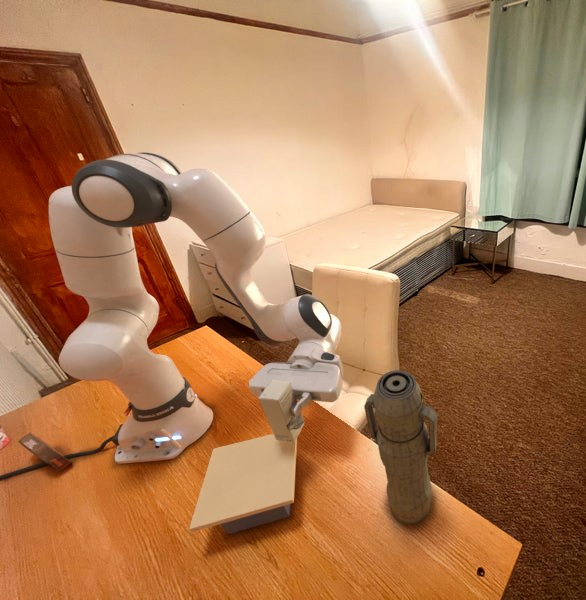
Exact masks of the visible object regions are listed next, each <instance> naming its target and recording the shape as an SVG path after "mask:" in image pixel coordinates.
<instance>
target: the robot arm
mask: <svg viewBox="0 0 586 600" xmlns="http://www.w3.org/2000/svg"><path fill="white" fill-rule="evenodd" d="M170 217H171V218H175V219H178V220H180V221H182V222H183V223H185V224H186V225H187V226H188V227H189V228H190V229H191V230H192V231H193V232H194V234H195V235H196V236H197V237H198V238H199V239H200V240H201V242H202V243H203V244H204V245H205V246H206V247H207V249H208V250H209V252H210V253H211V255H212V257H213V259H214V262H215V263H214V269H215V272H216V274H217V276H218V278H219V280H220V282H221V283H222V284H223V286H224V287H225V289H226V290H227V292H228V293H229V294H230V296H231V297H232V298H233V300H234V301H235V302H236V304H237V305H238V306H239V308H240V310H242V312H243V313H244V315H245V316H246V317H247V319H248V321H249V322H250V324H251V327H252V328H253V330H254V333H255V335H256V336H257V337H258V339H259V340H261V342H263V343H264V344H266V345H268V346H272V347H274V346H279V345H282V344H284V343H286V342H289V341H291V340H294V339H298V344H297V346H296V347H295V348H294V350H293V352H292V353H291V355H290V356H289V358H288V359H287V362H286V361H281V362H280V361H271V362H270V363H266V364H265V365H263V366H262V367H261V368H260V369H259V370H258V371H257V372H256V373H255V374H254V375H253V376H252V377H251V379H250V380H249V382H248V388H249V390H250V392H251V395H252V396H253V397H259V396H260V395H261V393H262V392H263V391H264V389H265V388H266V387H267V385H268V384H269V383H270V382H271V380H282V381H290V382H291V385H292V388H293V391H294V394H295V397H296V399H297V402H298V403H297V404H294V403H293V404H292V406H291V408H290V410H289V412H290V413H291V414H290V415H292V416H298V415H299V413H300V411H301V412H302V411H303V409H305V408H307V407H308V406H310V405H311V402H323V403H334V402H336V401H338V400H339V398H340V396H341V393H342V389H343V386H344V385H343V383H344V382H343V379H344V377H345V375H344V374H345V373H344V366H343V363H342V359H341V356H340V355H338V354H336V353H335V352H336V350H337V348H338V346H339V344H340V341H341V337H342V333H343V332H342V331H343V327H342V323H341V321H340V319H339V318H338V317H337V316H335V315H334V314H332V313H330V311H329V310H328V308H327V307H326V305H325V304H324V303H323V302H322V301H321V300H320V299H319V298H317V297H316V296H315V295H312V294H310V293H306V294H303V295H299V296H296V297H293V298H289V299H288V300H286V301H282V302H279V303H277V304H274V303H271V302H268V301H267V299H266V297H265V296H264V294H263V293H262V291H261V290H260V289H259V286H258V285H257V284H256V283H255V280H254V279H253V277H252V269H253V267H254V266H255V264H256V263H257V261H258V260H259V259H260V258H261V257H262V255H263V253H264V251H265V248H266V242H267V240H266V239H267V238H266V232H265V230H264V228H263V226H262V224H261V223H260V221H259V220H258V219H257V217H256V216H255V215H254V213H253V212H252V211H251V209H250V208H249V207H248V206H247V205H246V203H245V202H244V201H243V199H242V198H241V197H240V196H239V195H238V194H237V193H236V192H235V191H234V190H233V189H232V187H230V186H229V184H227V182H225V180H224V179H222V178H221V177H220V176H219V175H218V174H217V173H216V172H214V171H212V170H210V169H207V168H192V169H188V170H185V171H183V172H182V171H181V169H180V168H179V167H178V166H177V165H176V164H175V163H174V162H173V161H171V160H170V159H168V158H166V157H165V156H161V155H159V154H156V153H152V152H143V151H142V152H133V153H132V152H130V153H129V152H128V153H119V154H116V155H113V156H110V157H107V158H105V159H97V160H94V161H91V162H89V163H87V164H85V165H84V166H82V167H81V168H79V170H77V172H76V173H75V175H74V176H73V178H72V181H71V185H68V186H64V187H61V188H58V189H56V190H54V191H53V192H52V193H51V194H50V196H49V199H48V223H49V229H50V235H51V241H52V243H53V247H54V252H55V254H56V257H57V261H58V264H59V268H60V271H61V274H62V277H63V281H64V284H65V286H66V288H67V289H68V290H69V291H71V292H72V293H73V294H76V295H78V296H80V297H83V298H84V299H85V301H86V303H87V304H88V308H89V309H88V310H89V311H88V315H87V317H86V318H85V320H83V321H82V322H81V324H79V326H78V327H77V328H76V329H75V330H73V332H72V333H71V334H70V335H69V336H68V337H67V339H66V341H65V343H64V345H63V347H62V349H61V351H60V354H59V356H58V364H59V366H60V368H61V369H62V370H63V372H65V373H66V374H67V375H69V376H70V377H71V378H74V379H76V380H80V381H85V382H94V383H95V382H104V381H106V382H108V383H111V384H112V385H113V386H115V387H117V388H118V389H119V391H120V392H121V393H122V394H123V395H124V396H125V397H126V399H127V400H128V404H127V407H126V409H125V411H124V414H125V416H126V419H125V420H124V422H123V423H120V424H119V426H118V428H117V430H116V431H115V433H114V435H112V436H110V437H109V438H107V439H106V440H104V441H102V443H101V444H100V446H99V447H98V448H94V449H92V450H88V451H82V452H74V453H69V454H66V455H63V456H64V457H65V458H66V459H70V458H75V457H76V458H77V457H84V456H90V455H93V454H96V453H99V452H101V451H102V450H104V449H105V447H106V445H108V443H111V442H112V443H113V444H114V445H115V446H116V450H115V452H114V453H115V454H114V461H115V463H116V464H117V465H120V464H134V463H144V462H156V461H157V462H158V461H168V460H174V459H175V458H176V457H178V456H179V455H180V454H181V453H182V452H183V451H184V450H185V449H186V448H187V447H189V446H190V445H192V444H193V443H195V442H196V441H197V440H199V439H200V438H201V437H202V436H203V435H204V434H205V433H206V432H207V431H208V430H209V428H210V427H211V425H212V422H213V420H214V411H213V410H212V408H210V407H209V406H208V405H206V403H204V402H203V401H201V400H200V398H198V395H197V393H195V391H194V389H193V387H192V385H191V384H190V382H189V381H188V380H187V379H186V377H185V376H183V375H182V373H181V372H180V370H179V369H178V367H177V366H176V364H175V363H174V361H173V359H172V358H171V357H170V356H168V355H166V354H163V353H154V352H153V351H152V350H151V348H150V347H149V345H148V338H149V337H150V335H151V333H152V331H153V330H154V328H155V327H156V325H157V323H158V320H159V314H160V305H159V302H158V301H157V300H156V298H155V297H154V296H152V295H151V294H150V293H148V292H147V289H146V287H145V285H144V282H143V279H142V277H141V272H140V267H139V262H138V256H137V251H136V245H135V240H134V236H133V235H134V234H133V228H138V227H143V226H147V225H152V224H156V223H163V222H166V221H168V220H169V219H170ZM298 400H299V401H298ZM47 465H49V464H48V463H46V462H44V461H43V462H42V461H41V462H39V463H36V464H33V465H30V466H26V467H23V468H20V469H17V470H14V471H10V472H7V473H3V474H1V475H0V480H3V479H6V478H10V477H12V476H15V475H18V474H22V473H26V472H29V471H31V470H35V469H38V468H41V467H43V466H47Z"/></svg>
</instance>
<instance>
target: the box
mask: <svg viewBox="0 0 586 600" xmlns="http://www.w3.org/2000/svg"><path fill="white" fill-rule="evenodd" d="M257 398H258V401H259V404H260V406H261V408H262V411H263V413H264V416H265V417H266V421H267V422H268V425H269V427H270V429H271V431H272V434H274V436H275V438H276V440H279V441H286V442H295V440H296V439H297V440H298V437H299V435H300V433H301V431H302V429H303V427H304V425H305V424H306V423H305V420H304V416H303V414H302V410H301V411H300V413H299V415H298V416H292V415H290V414H291V413H290V412H289V410H290V408H291V406H292V404H293V403H294V404H297V403H298V402H299V401H298V400H297V399H296V397H295V394H294V391H293V388H292V385H291V382H290V381H282V380H271V382H270V383H269V384H268V385H267V387H266V388H265V389H264V391H263V392H262V393H261V395H260V396H258V397H257Z"/></svg>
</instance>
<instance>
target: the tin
mask: <svg viewBox="0 0 586 600" xmlns="http://www.w3.org/2000/svg"><path fill="white" fill-rule="evenodd" d="M18 443H19V444H20V445H21V446H22V447H24V448H25V449H26V450H27V451H29V452H30V453H31V454H32V455H34V456H35V457H37V458H38V459H39V460H41V461H43V462H46V463H48V464H47V465H51V467H52V468H54V469H55V470H56V471H58V472H61V471H62V470H63V469H65V468H66V467H67V466H68V465H70V464H71V463H73V461H71V460H70V458H67V459H66V458H65V457H64V456H65V455H64V454H62V453H61V452H59V451H58V450H57V449H55V448H54V447H53V446H51V445H50V444H48V443H47V442H45V441H44V440H42V439H41V438H39V437H38V436H37V435H35V434H34V433H32V432H31V431H29V432H28V433H27V434H25V435H24V436H23V437H21V438H20V439H19V440H18Z"/></svg>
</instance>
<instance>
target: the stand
mask: <svg viewBox="0 0 586 600" xmlns="http://www.w3.org/2000/svg"><path fill="white" fill-rule="evenodd" d="M297 447H298V438H297V439H296V440H295V442H286V441H279V440H276V438H275V436H274V434H273V433H271V434H267V435H263V436H259V437H255V438H251V439H246V440H243V441H238V442H235V443H231V444H227V445H222V446H218V447H215V448H213V449H212V452H211V455H210V458H209V462H208V465H207V468H206V472H205V474H204V478H203V481H202V485H201V488H200V492H199V494H198V498H197V501H196V505H195V508H194V511H193V515H192V518H191V521H190V525H189V528H188V531H190V532H191V533H194V532H198V531H201V530H203V529H204V530H205V529H207V528H211V527H215V526H219V525H220V526H221V528H223V530H224V531H225V533H226V534H227V535H231V534H235V533H238V532H242V531H246V530H248V529H251V528H255V527H258V526H262V525H265V524H268V523H272V522H275V521H279V520H282V519H285V518H289V517H290V516H291V504H294V503H295V490H296V489H295V487H296V467H297V451H298V450H297Z"/></svg>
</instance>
